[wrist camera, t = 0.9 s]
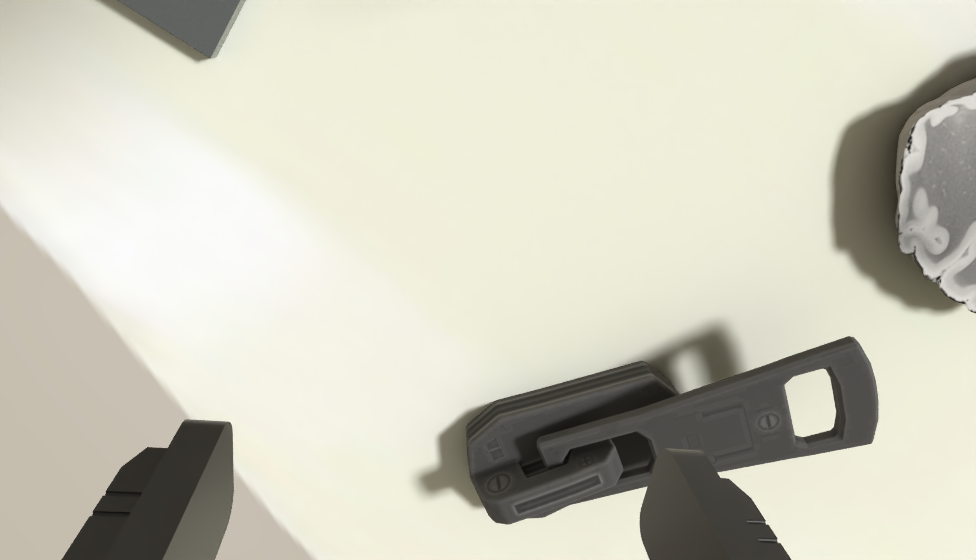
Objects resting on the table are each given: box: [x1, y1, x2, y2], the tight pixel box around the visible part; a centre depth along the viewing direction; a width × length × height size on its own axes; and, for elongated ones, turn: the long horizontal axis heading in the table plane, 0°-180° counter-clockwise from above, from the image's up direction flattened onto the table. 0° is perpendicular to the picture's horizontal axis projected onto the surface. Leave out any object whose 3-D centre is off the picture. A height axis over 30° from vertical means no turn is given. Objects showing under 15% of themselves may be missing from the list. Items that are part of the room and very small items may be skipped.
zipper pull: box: [466, 336, 878, 524], centre depth 41 cm, size 9×7×25 cm
